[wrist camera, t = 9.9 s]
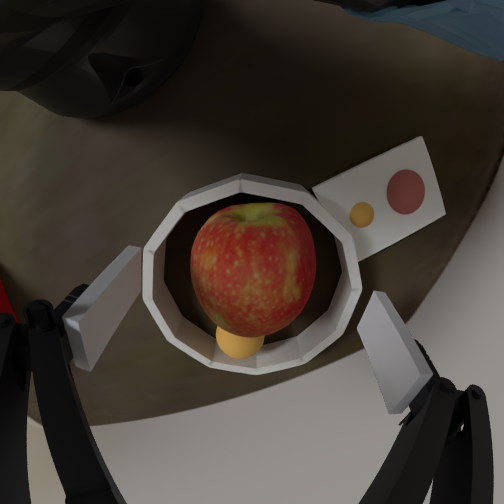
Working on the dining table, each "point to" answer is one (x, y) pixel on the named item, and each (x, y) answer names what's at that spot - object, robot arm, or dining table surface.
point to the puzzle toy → (5, 302)
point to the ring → (269, 354)
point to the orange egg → (238, 344)
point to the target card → (384, 197)
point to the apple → (253, 267)
